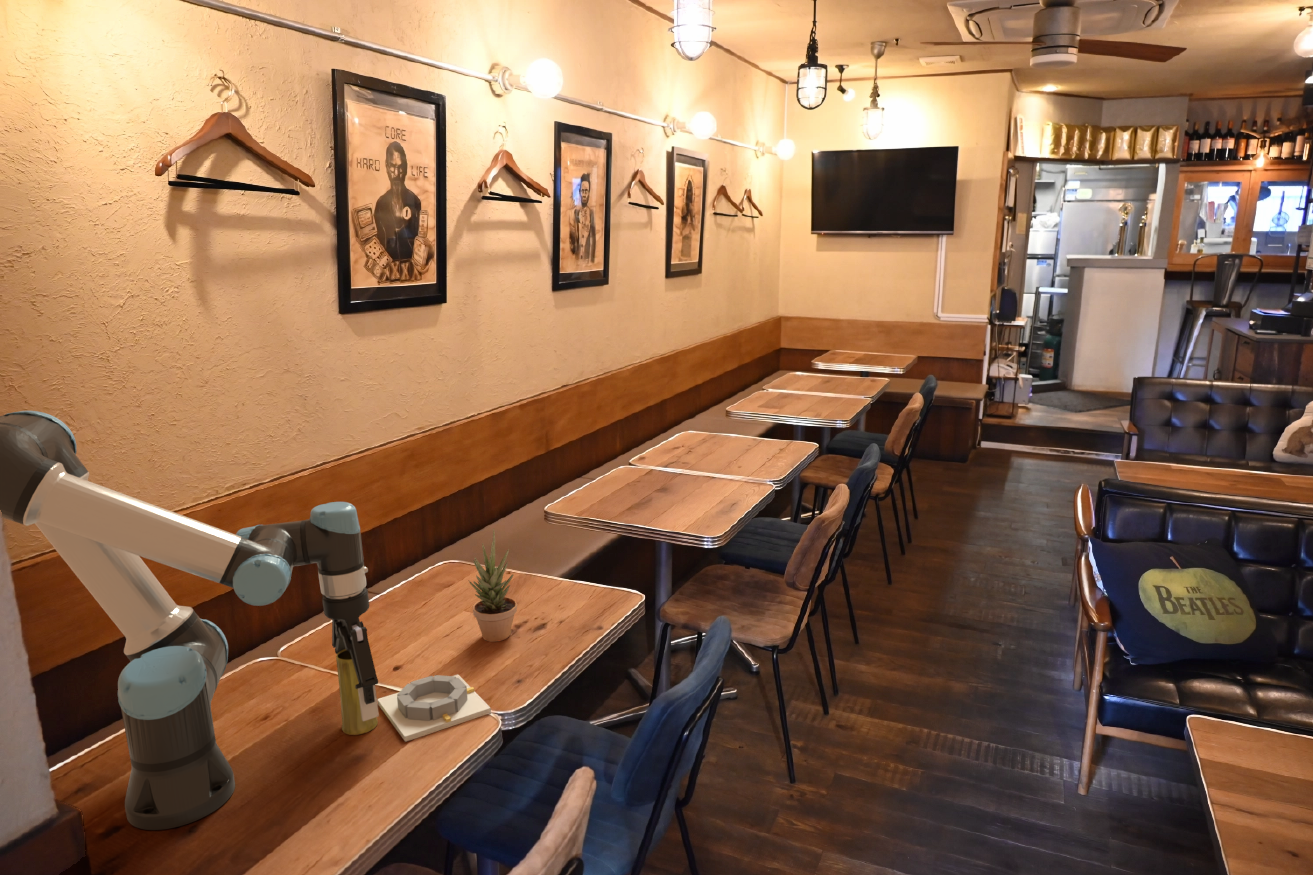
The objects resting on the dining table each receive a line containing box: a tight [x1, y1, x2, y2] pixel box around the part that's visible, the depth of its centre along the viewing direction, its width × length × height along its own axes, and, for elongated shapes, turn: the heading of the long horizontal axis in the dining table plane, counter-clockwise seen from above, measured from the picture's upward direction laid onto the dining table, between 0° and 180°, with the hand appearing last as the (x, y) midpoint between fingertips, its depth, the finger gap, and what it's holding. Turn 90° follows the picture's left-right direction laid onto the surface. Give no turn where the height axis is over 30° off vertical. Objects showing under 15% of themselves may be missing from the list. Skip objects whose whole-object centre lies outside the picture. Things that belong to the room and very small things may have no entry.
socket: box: [377, 674, 492, 742], centre depth 162 cm, size 16×16×4 cm
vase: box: [335, 649, 379, 736], centre depth 156 cm, size 6×6×14 cm
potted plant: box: [468, 528, 518, 643], centre depth 190 cm, size 10×10×25 cm
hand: (359, 702), depth 156 cm, fingers open, 13 cm apart
